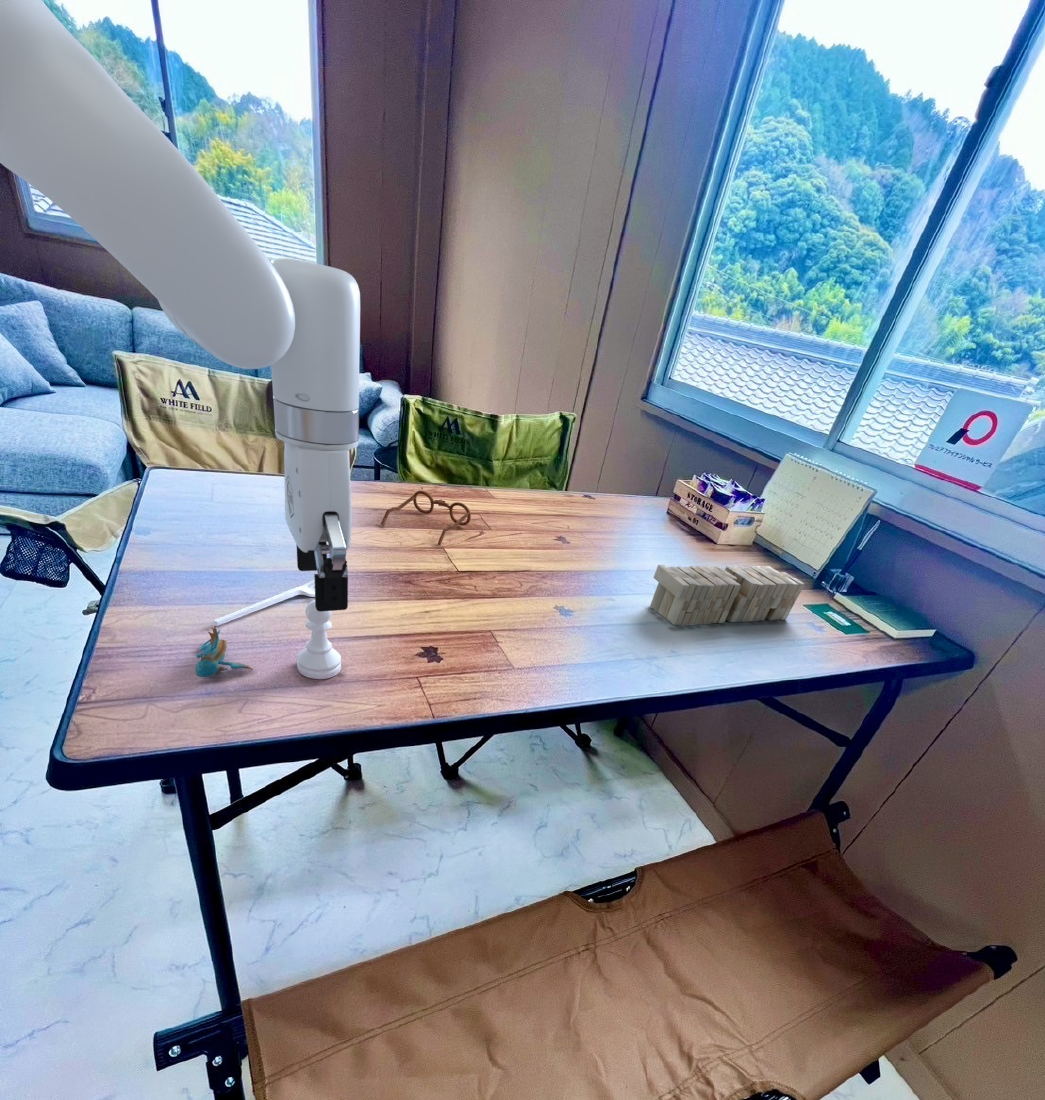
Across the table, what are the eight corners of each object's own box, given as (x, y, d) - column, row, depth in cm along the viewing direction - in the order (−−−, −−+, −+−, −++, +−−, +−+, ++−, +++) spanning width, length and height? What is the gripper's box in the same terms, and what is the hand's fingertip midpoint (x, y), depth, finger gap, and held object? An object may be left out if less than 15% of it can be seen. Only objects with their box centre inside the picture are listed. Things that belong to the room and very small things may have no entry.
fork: (205, 622, 74) (203, 609, 73) (322, 580, 89) (322, 568, 88) (223, 632, 73) (222, 619, 72) (338, 587, 88) (338, 576, 87)
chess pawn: (290, 662, 70) (287, 594, 65) (330, 654, 73) (330, 588, 68) (307, 683, 67) (305, 614, 62) (348, 674, 70) (349, 607, 65)
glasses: (469, 529, 120) (473, 505, 117) (439, 546, 109) (442, 519, 107) (414, 511, 123) (416, 487, 120) (379, 525, 112) (380, 499, 109)
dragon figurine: (150, 649, 66) (181, 654, 61) (200, 608, 69) (234, 609, 64) (191, 690, 70) (224, 698, 65) (237, 649, 73) (271, 653, 69)
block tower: (756, 605, 117) (641, 605, 104) (775, 566, 113) (657, 560, 99) (785, 624, 112) (667, 627, 98) (806, 584, 107) (685, 580, 94)
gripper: (260, 398, 59) (272, 557, 69) (292, 447, 47) (301, 630, 57) (336, 405, 63) (337, 555, 72) (383, 452, 51) (377, 624, 61)
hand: (321, 588), depth 65 cm, fingers open, 9 cm apart
